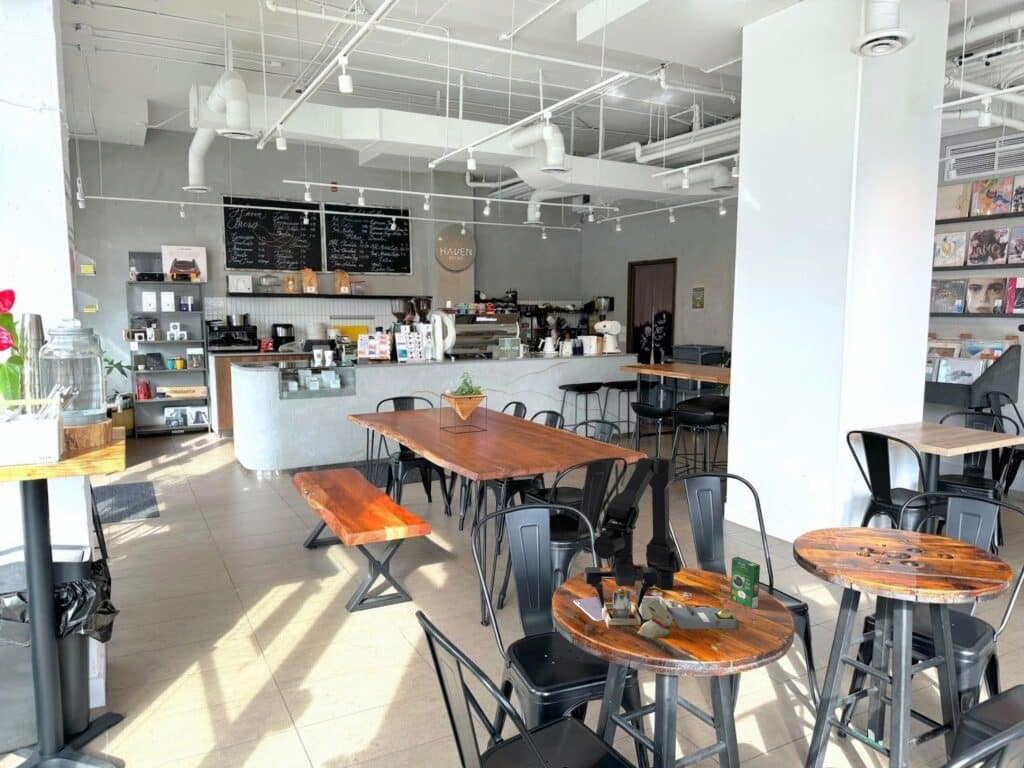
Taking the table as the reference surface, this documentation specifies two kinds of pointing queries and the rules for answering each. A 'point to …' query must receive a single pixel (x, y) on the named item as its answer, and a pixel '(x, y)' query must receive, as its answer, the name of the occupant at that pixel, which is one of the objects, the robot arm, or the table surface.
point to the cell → (621, 604)
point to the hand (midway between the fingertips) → (620, 607)
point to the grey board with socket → (701, 618)
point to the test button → (724, 613)
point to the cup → (647, 600)
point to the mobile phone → (591, 608)
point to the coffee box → (745, 582)
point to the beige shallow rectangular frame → (620, 621)
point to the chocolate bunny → (657, 621)
